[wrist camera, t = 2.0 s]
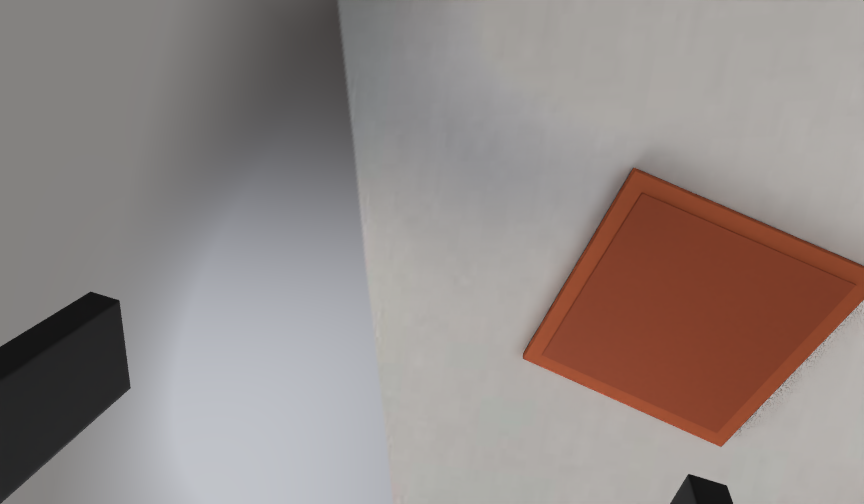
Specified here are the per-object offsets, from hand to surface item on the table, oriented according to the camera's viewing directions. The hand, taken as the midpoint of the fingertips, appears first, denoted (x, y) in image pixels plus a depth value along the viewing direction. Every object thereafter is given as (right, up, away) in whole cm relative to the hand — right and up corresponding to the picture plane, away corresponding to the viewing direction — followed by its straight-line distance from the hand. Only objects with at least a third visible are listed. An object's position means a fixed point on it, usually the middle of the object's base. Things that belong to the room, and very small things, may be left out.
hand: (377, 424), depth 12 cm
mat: (+17, 0, +21) cm, 27 cm away
